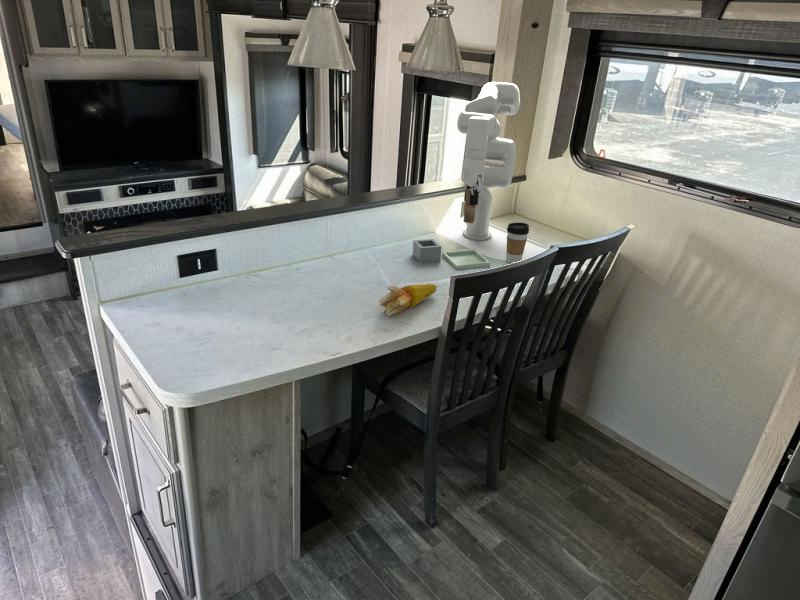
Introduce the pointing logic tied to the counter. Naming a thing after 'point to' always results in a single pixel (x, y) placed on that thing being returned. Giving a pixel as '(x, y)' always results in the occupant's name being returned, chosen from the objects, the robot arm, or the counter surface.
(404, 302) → the corn cob
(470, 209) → the walnut dowel
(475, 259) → the sage tray
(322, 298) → the counter surface
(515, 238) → the coffee cup
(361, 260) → the counter surface
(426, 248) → the square cup
